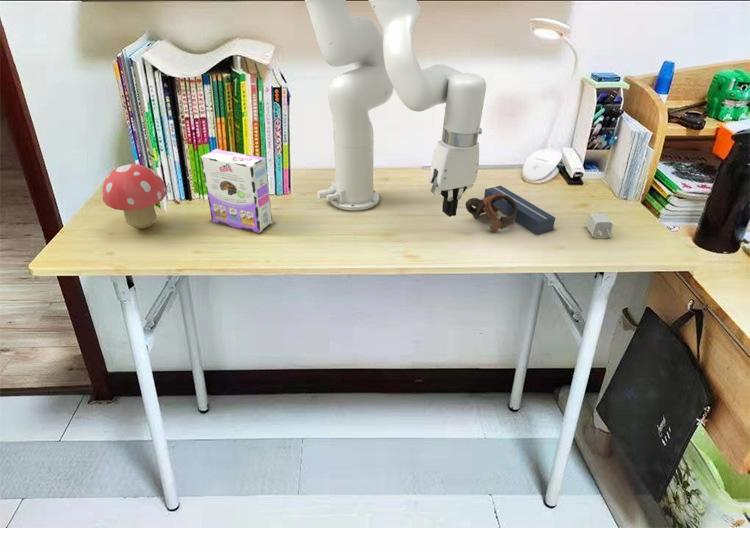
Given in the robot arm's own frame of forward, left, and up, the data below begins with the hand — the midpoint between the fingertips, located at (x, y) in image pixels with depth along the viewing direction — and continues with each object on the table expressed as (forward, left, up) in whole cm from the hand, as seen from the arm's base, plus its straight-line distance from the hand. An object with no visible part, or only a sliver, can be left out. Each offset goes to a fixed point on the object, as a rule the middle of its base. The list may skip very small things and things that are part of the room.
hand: (448, 213), depth 127 cm
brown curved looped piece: (+11, -1, -5) cm, 12 cm away
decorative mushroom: (-62, +33, -5) cm, 71 cm away
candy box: (-41, +25, -5) cm, 48 cm away
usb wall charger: (+30, -18, -5) cm, 35 cm away
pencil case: (+20, -1, -4) cm, 20 cm away
